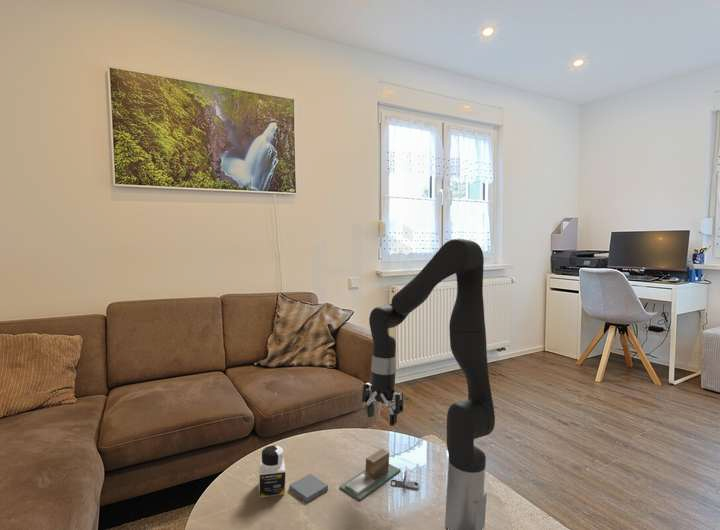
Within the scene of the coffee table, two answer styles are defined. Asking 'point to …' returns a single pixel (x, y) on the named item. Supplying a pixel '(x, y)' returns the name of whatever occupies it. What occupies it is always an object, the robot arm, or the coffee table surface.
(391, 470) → the mat
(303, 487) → the tile
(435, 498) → the coffee table surface
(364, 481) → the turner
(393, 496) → the coffee table surface
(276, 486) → the medicine bottle
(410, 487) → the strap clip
